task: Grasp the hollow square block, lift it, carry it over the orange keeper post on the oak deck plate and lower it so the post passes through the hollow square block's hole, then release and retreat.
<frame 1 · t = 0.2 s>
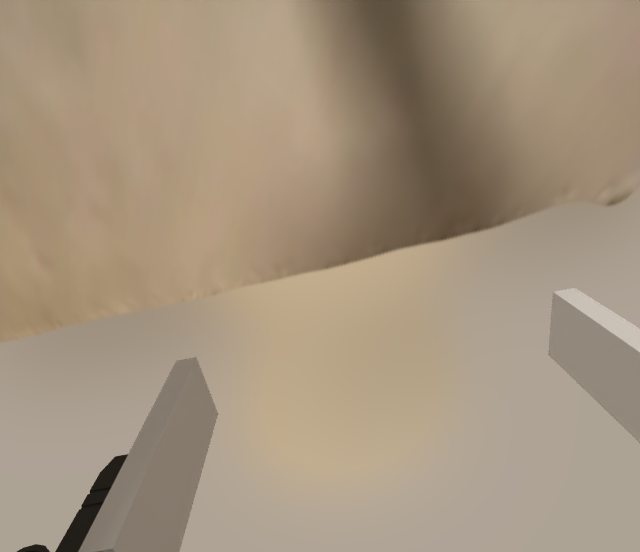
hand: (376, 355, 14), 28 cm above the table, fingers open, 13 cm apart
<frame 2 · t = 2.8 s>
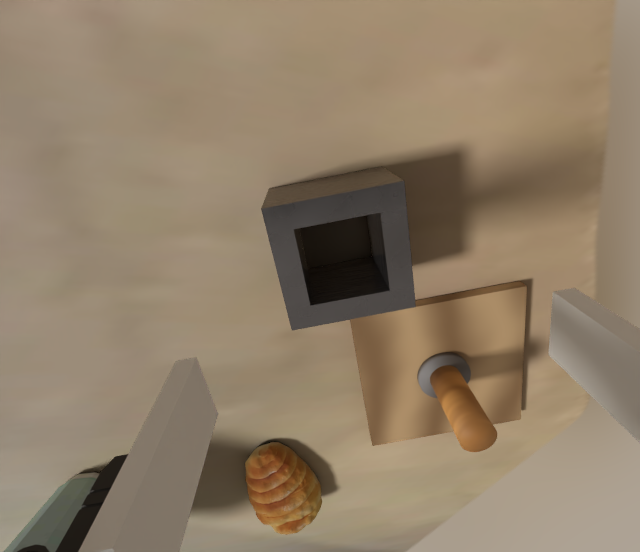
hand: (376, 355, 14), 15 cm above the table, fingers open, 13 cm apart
pastry: (281, 474, 38), on the table
keeper: (438, 366, 33), on the table
disposable coffee cup: (95, 492, 37), on the table
hollow square block: (334, 231, 28), on the table
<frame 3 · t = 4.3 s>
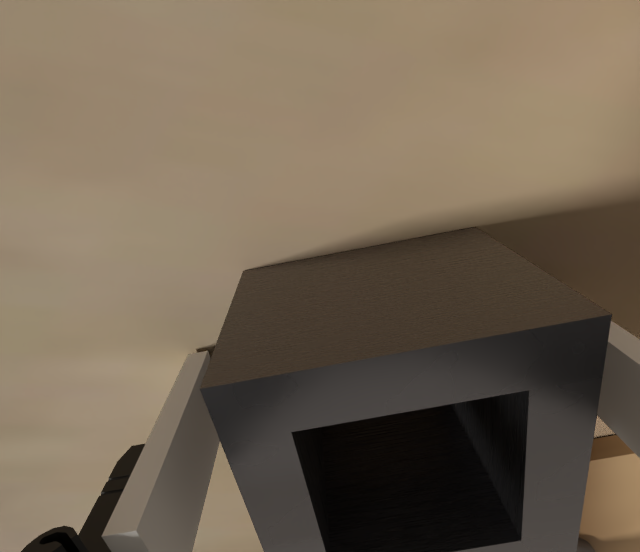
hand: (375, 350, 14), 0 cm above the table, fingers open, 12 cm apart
keeper: (538, 542, 20), on the table
hollow square block: (373, 346, 14), on the table
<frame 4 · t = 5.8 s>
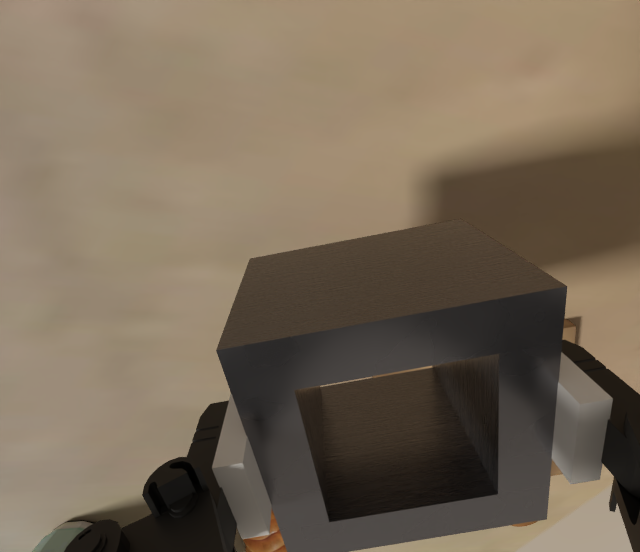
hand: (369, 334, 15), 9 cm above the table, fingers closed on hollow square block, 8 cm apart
pastry: (284, 529, 34), on the table
keeper: (469, 412, 29), on the table
disposable coffee cup: (84, 541, 34), on the table
hollow square block: (368, 329, 16), point 9 cm above the table, touching gripper
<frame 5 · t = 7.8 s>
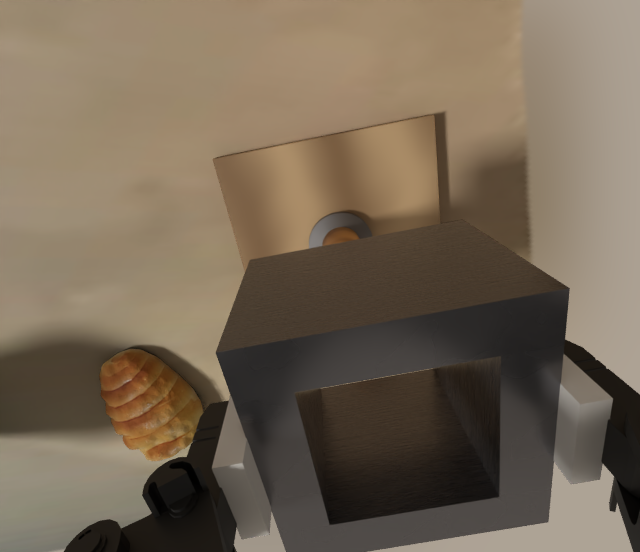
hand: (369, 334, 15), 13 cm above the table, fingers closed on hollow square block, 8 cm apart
pastry: (158, 394, 32), on the table
keeper: (339, 238, 27), on the table
hollow square block: (369, 330, 15), point 12 cm above the table, touching gripper
when the fingers open (2 cm above the table, at t = 10.0 s): hollow square block stays where it is, resting on keeper.
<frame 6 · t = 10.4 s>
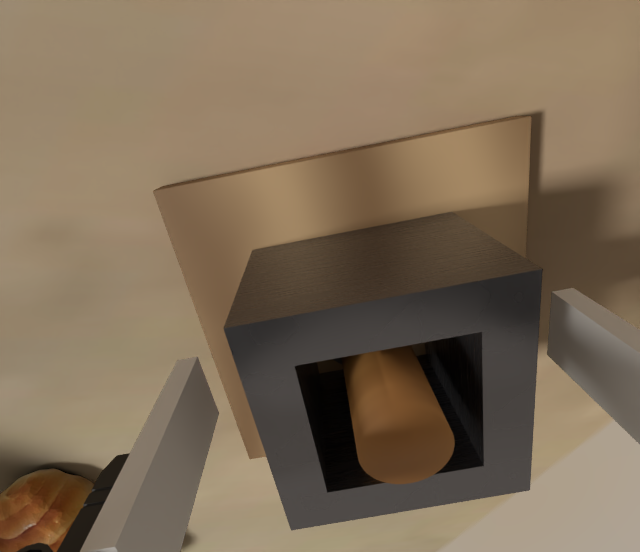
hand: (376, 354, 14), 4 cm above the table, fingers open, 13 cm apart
pastry: (92, 519, 23), on the table
keeper: (361, 308, 17), on the table
hollow square block: (364, 317, 16), point 1 cm above the table, touching keeper
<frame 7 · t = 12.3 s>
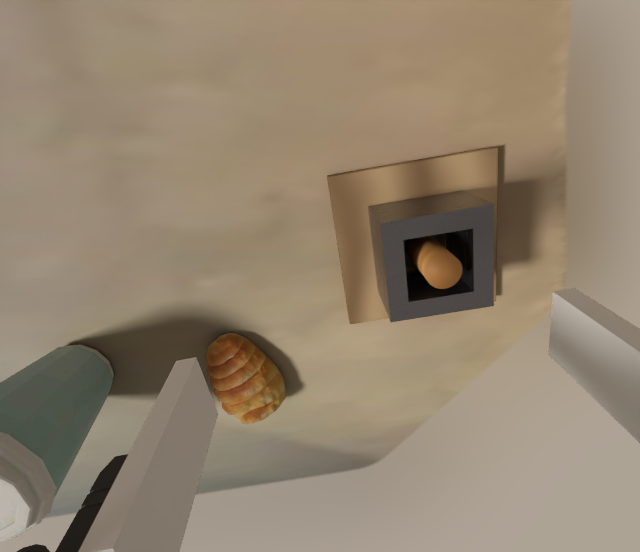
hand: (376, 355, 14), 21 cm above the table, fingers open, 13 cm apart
pastry: (246, 371, 39), on the table
keeper: (414, 240, 34), on the table
disposable coffee cup: (81, 369, 39), on the table
hollow square block: (417, 242, 33), point 1 cm above the table, touching keeper
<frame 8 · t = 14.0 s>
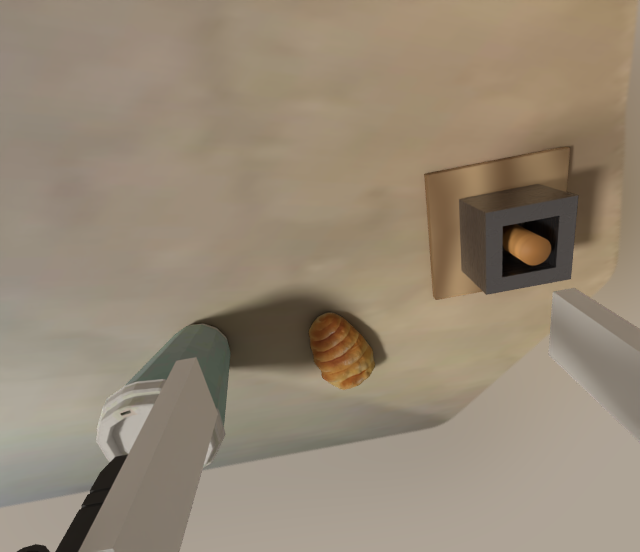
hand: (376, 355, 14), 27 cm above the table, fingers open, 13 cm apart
pastry: (338, 346, 46), on the table
keeper: (493, 227, 40), on the table
disposable coffee cup: (200, 345, 45), on the table
hollow square block: (497, 229, 39), point 1 cm above the table, touching keeper
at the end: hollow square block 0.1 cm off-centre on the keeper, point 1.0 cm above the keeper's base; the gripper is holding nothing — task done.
